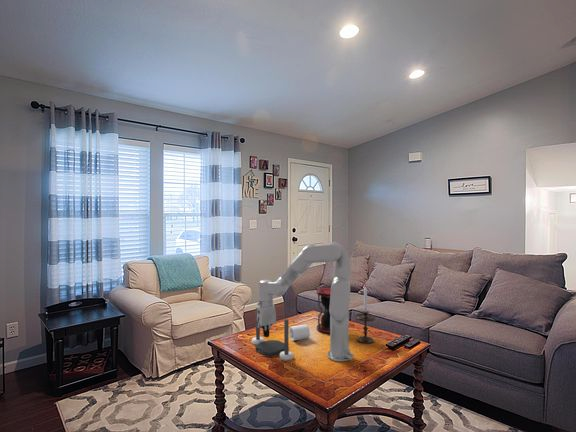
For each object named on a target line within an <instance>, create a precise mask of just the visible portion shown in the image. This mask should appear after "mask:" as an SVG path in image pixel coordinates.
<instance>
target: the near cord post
mask: <svg viewBox="0 0 576 432" xmlns="http://www.w3.org/2000/svg"><path fill="white" fill-rule="evenodd" d="M283 321H284V322H283V327H284V328H283V329H284V330H283V333H284V335H283V336H284V341H283V343H284V351H283V352H281V353H280V354H279V359H280V360H281V361H285V362H289V361H291V360H293V359H294V353H293V352H292V351H289V348H290V347H289V345H290V344H289V339H290V335H289V329H290V327H289V325H290V324H289V319H288V318H285V319H283Z"/></svg>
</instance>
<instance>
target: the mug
mask: <svg viewBox="0 0 576 432" xmlns="http://www.w3.org/2000/svg"><path fill="white" fill-rule="evenodd" d="M310 334H311V331H310V328H309V326H308V324H306V323H305V324H300V325H294V326H290V327H289V339H290V340H291V341H292V342H294V341H295V342H296V341H302V340H306V339H309V338H310Z"/></svg>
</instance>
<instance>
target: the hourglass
mask: <svg viewBox="0 0 576 432" xmlns="http://www.w3.org/2000/svg"><path fill="white" fill-rule="evenodd" d="M330 294H331V287H321V288H318V289H316V295H317V306H318V308H319V310H320V311H319V314H318V316H317V325H316V331H317V332H319V333H321V334H325V335H330V312H329V307H330ZM320 302H321V303H320ZM320 304H321V305H323V307H324V311H323V308H322V307H321V305H320Z"/></svg>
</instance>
